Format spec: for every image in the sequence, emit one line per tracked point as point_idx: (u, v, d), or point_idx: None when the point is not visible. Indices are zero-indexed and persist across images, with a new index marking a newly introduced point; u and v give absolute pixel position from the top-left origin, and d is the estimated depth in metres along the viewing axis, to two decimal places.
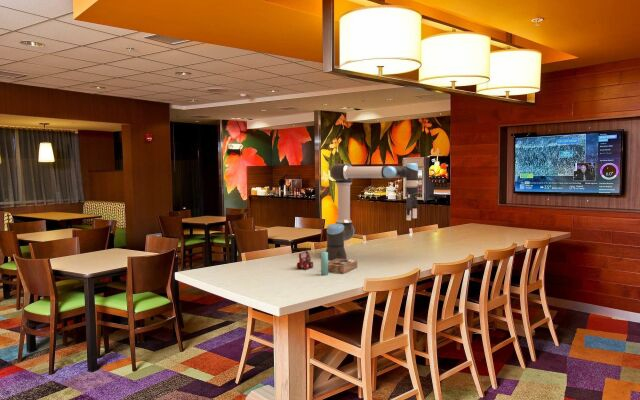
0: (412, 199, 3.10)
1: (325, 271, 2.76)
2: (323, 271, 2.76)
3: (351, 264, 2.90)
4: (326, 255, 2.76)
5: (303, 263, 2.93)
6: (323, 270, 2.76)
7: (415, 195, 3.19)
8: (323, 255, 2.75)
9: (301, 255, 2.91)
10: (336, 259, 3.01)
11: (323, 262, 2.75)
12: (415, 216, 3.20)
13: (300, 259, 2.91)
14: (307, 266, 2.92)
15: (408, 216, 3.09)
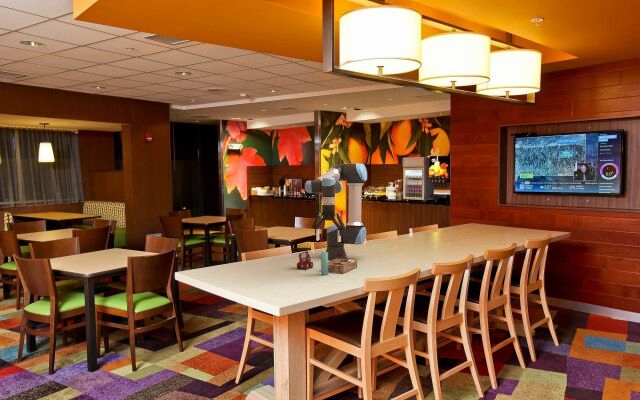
0: (322, 218, 2.77)
1: (325, 271, 2.76)
2: (323, 271, 2.76)
3: (351, 264, 2.90)
4: (326, 255, 2.76)
5: (303, 263, 2.93)
6: (323, 270, 2.76)
7: (336, 215, 2.74)
8: (323, 255, 2.75)
9: (301, 255, 2.91)
10: (336, 259, 3.01)
11: (323, 262, 2.75)
12: None
13: (300, 259, 2.91)
14: (307, 266, 2.92)
15: None
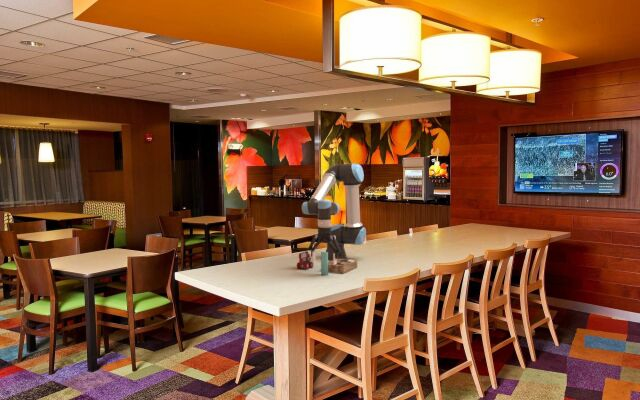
0: None
1: (325, 271, 2.76)
2: (323, 271, 2.76)
3: (351, 264, 2.90)
4: (326, 255, 2.76)
5: (303, 263, 2.93)
6: (323, 270, 2.76)
7: None
8: (323, 255, 2.75)
9: (301, 255, 2.91)
10: None
11: (323, 262, 2.75)
12: None
13: (300, 259, 2.91)
14: (307, 266, 2.92)
15: None
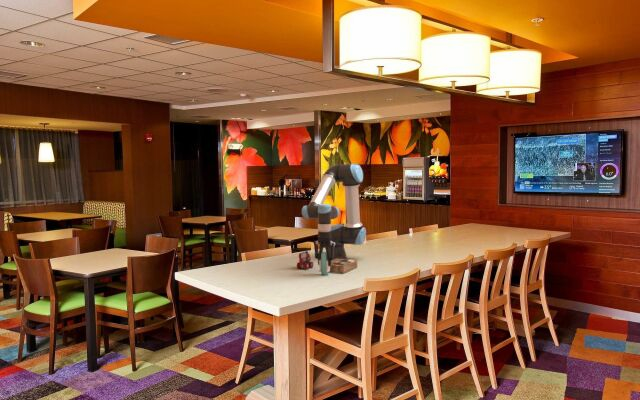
0: (319, 246, 2.77)
1: (325, 271, 2.76)
2: (323, 271, 2.76)
3: (351, 264, 2.90)
4: (326, 255, 2.76)
5: (303, 263, 2.93)
6: (323, 270, 2.76)
7: (332, 244, 2.74)
8: (323, 255, 2.75)
9: (301, 255, 2.91)
10: (336, 259, 3.01)
11: (323, 262, 2.75)
12: None
13: (300, 259, 2.91)
14: (307, 266, 2.92)
15: None
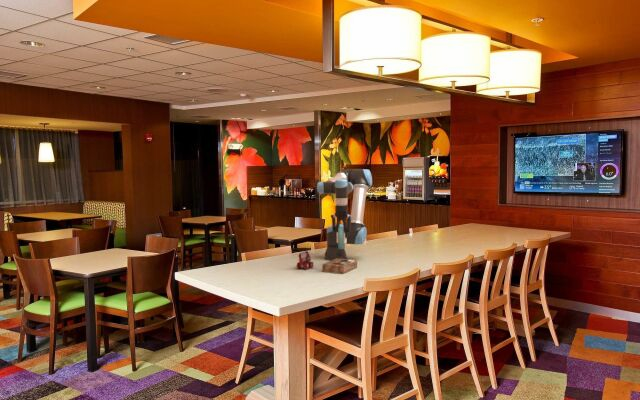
0: None
1: (342, 245, 2.92)
2: (340, 245, 2.92)
3: (351, 264, 2.90)
4: (343, 230, 2.91)
5: (303, 263, 2.93)
6: (340, 244, 2.92)
7: (348, 217, 2.89)
8: (340, 230, 2.91)
9: (301, 255, 2.91)
10: (336, 259, 3.01)
11: (341, 236, 2.91)
12: None
13: (300, 259, 2.91)
14: (307, 266, 2.92)
15: None
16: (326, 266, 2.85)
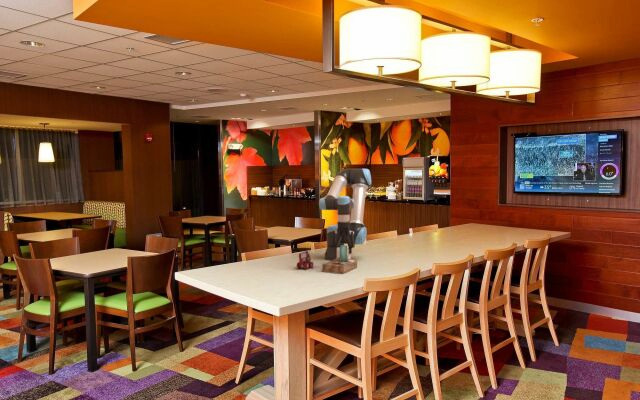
0: (338, 235, 2.95)
1: None
2: None
3: (351, 264, 2.90)
4: (345, 248, 2.94)
5: (303, 263, 2.93)
6: None
7: (351, 233, 2.92)
8: (342, 248, 2.94)
9: (301, 255, 2.91)
10: (336, 259, 3.01)
11: (343, 254, 2.94)
12: None
13: (300, 259, 2.91)
14: (307, 266, 2.92)
15: None
16: (326, 266, 2.85)
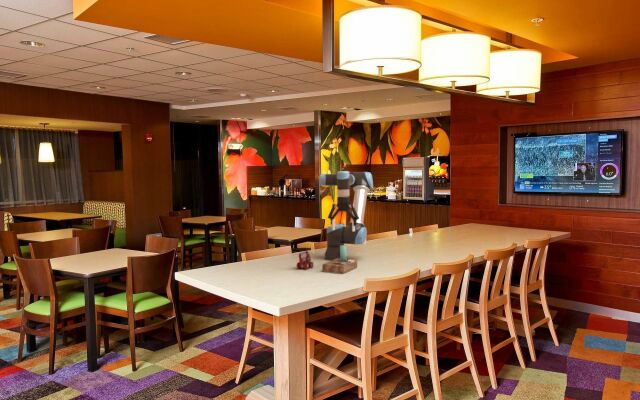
0: (337, 209, 2.96)
1: None
2: None
3: (351, 264, 2.90)
4: (345, 248, 2.94)
5: (303, 263, 2.93)
6: None
7: (351, 206, 2.92)
8: (342, 248, 2.94)
9: (301, 255, 2.91)
10: (336, 259, 3.01)
11: (342, 254, 2.94)
12: None
13: (300, 259, 2.91)
14: (307, 266, 2.92)
15: None
16: (326, 266, 2.85)
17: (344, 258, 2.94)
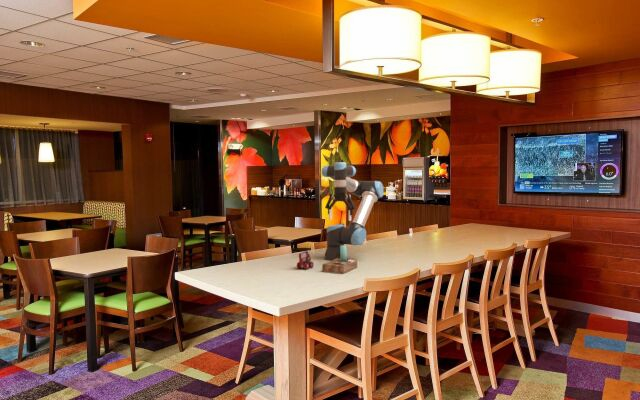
0: (334, 199, 3.04)
1: None
2: None
3: (351, 264, 2.90)
4: (345, 248, 2.94)
5: (303, 263, 2.93)
6: None
7: (347, 196, 3.00)
8: (342, 248, 2.94)
9: (301, 255, 2.91)
10: (336, 259, 3.01)
11: (343, 254, 2.94)
12: None
13: (300, 259, 2.91)
14: (307, 266, 2.92)
15: None
16: (326, 266, 2.85)
17: (344, 258, 2.94)
